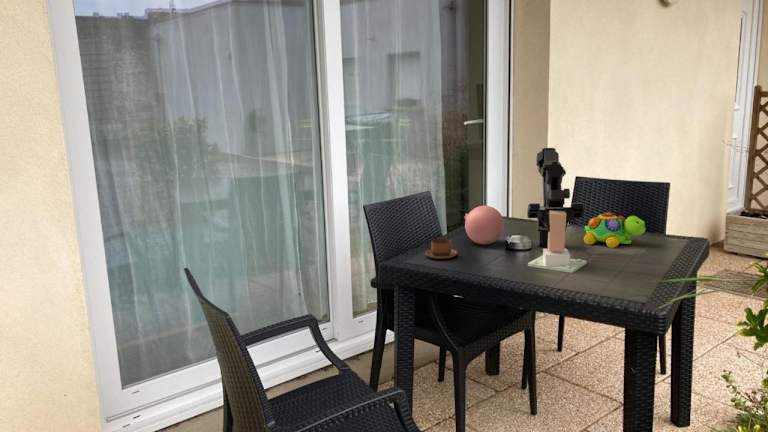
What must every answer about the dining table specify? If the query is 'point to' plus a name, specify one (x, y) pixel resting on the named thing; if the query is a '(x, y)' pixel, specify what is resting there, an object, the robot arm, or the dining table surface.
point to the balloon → (484, 224)
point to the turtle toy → (613, 229)
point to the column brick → (556, 230)
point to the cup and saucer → (441, 249)
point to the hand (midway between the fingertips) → (557, 231)
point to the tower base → (558, 268)
